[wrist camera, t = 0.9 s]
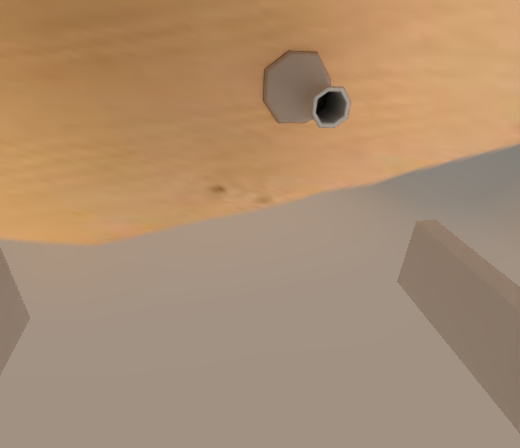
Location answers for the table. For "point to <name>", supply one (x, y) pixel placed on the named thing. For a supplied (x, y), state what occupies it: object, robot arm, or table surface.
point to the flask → (304, 91)
